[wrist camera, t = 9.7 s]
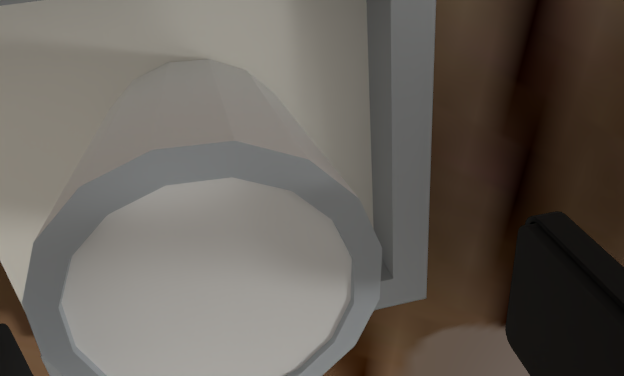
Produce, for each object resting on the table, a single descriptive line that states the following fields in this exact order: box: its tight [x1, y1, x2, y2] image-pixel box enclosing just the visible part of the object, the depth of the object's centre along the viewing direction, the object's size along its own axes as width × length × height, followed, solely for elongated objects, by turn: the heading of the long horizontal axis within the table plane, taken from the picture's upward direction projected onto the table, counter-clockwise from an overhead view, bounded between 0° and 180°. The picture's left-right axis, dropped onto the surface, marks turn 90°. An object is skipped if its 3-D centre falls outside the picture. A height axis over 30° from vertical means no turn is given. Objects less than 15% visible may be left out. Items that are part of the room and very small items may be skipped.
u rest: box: [0, 0, 436, 376], centre depth 16 cm, size 14×14×3 cm
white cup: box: [22, 59, 382, 376], centre depth 13 cm, size 7×7×7 cm
